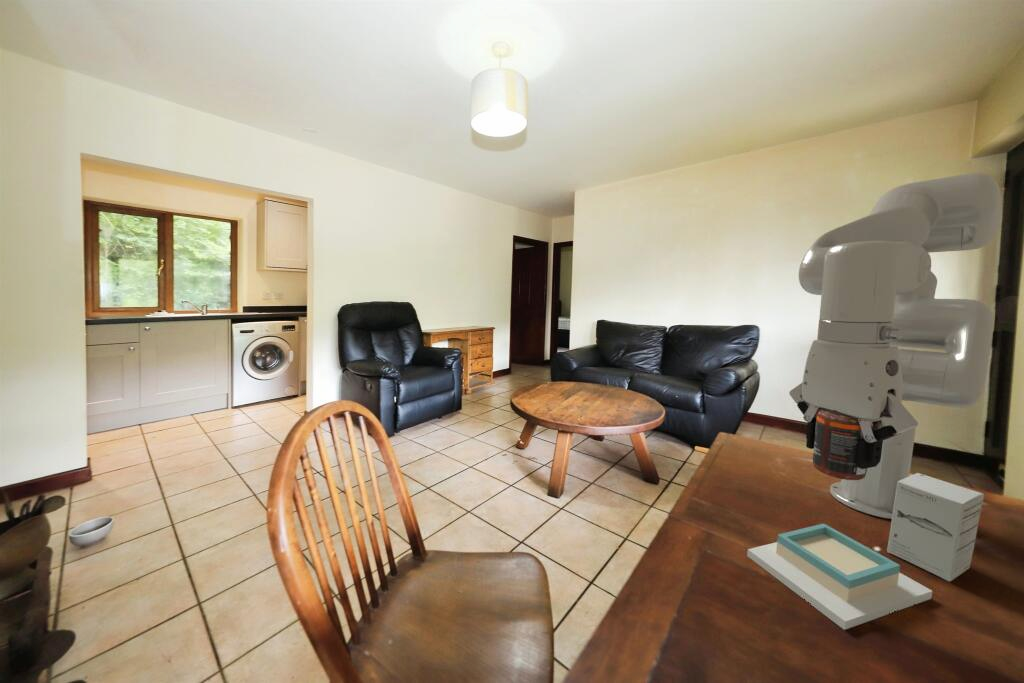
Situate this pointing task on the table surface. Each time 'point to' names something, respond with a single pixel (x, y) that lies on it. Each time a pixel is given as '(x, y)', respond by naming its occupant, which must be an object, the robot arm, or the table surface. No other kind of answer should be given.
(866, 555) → the teal framed tray
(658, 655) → the table surface
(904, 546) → the supplement box
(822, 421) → the supplement bottle
